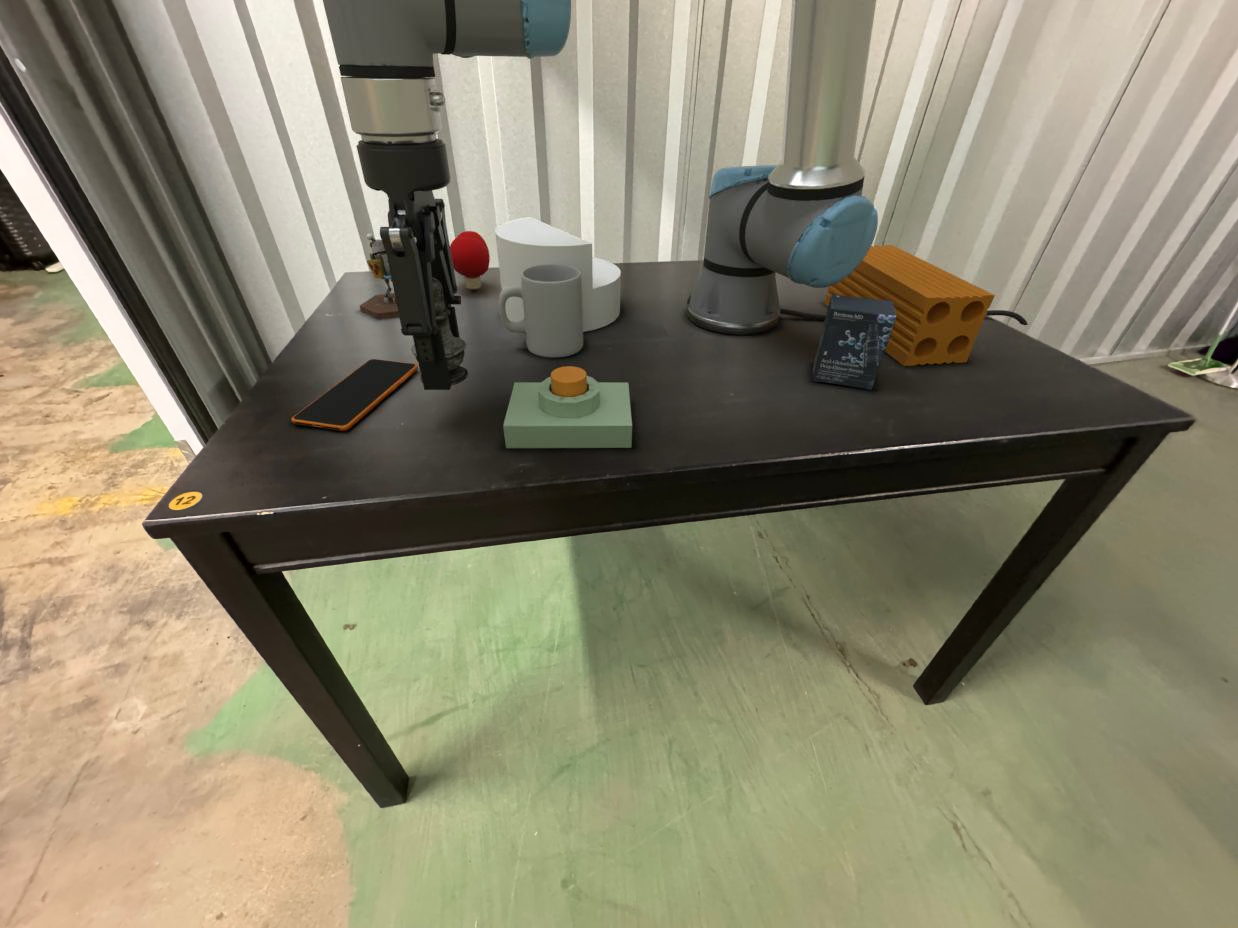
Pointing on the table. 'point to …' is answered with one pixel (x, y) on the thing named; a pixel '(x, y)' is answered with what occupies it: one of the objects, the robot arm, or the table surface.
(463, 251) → the red mushroom
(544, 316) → the mug
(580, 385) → the orange push button
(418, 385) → the table surface
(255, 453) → the table surface
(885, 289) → the brick
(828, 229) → the robot arm
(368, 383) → the smartphone
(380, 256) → the robot figurine
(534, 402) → the green button housing
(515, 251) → the container
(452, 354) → the salt shaker
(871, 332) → the box
